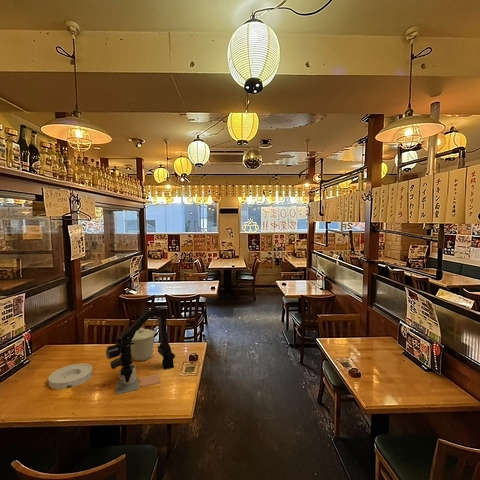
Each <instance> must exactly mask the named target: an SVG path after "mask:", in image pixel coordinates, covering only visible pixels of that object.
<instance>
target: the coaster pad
mask: <svg viewBox="0 0 480 480" xmlns="http://www.w3.org/2000/svg"><path fill="white" fill-rule="evenodd" d="M139 381H140V382H139V384H140V385H139V386H140V388H145V387H149V386H154V385H158V384H161V379H160V374H159V373H157V374H152V375H147V376H142V377H139Z"/></svg>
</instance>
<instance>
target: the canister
mask: <svg viewBox="0 0 480 480" xmlns="http://www.w3.org/2000/svg"><path fill="white" fill-rule="evenodd" d="M155 335H156V332H155V331H154V330H152V329H150V328H149V329H148V328H144V327H140V328H139V329H138V330H137V331H136V333H135V335H134V337H133V338H132V342H134V344H132V345H131V356H132V360H134V361H136V362H137V361H139V362H140V361H142V362H143V361H145V360H148V359H150V358H151V357H152V356H153V353H154V343H155V342H154V341H155Z"/></svg>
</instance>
